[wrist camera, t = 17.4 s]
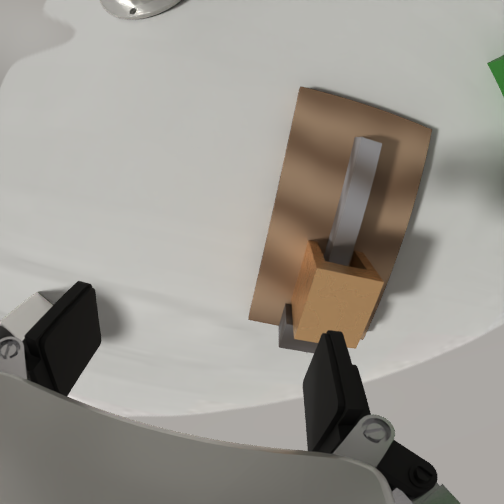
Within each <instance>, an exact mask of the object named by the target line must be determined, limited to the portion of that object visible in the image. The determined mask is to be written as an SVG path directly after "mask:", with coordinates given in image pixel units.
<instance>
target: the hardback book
mask: <svg viewBox="0 0 504 504" xmlns="http://www.w3.org/2000/svg"><path fill="white" fill-rule="evenodd" d="M487 64H488V66H489V68H490V69H491V71H492V73H493V75H494V77H495V79H496V81H497V83H498V86H499V88H500V90H501V92H502V94H503V96H504V55H503V56H501V57H499V58H497V59H495V60H493V61H491V62H489V63H487Z"/></svg>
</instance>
